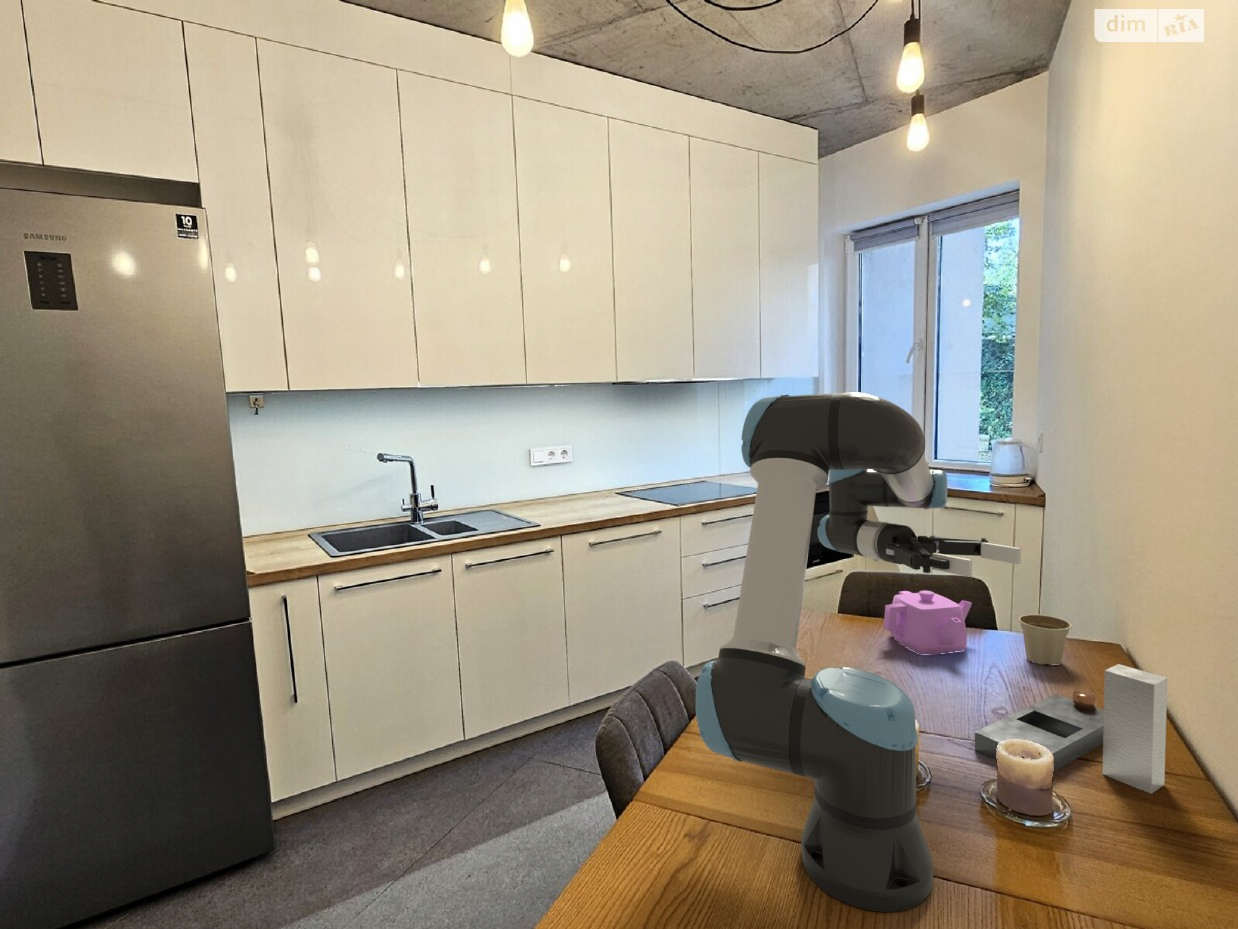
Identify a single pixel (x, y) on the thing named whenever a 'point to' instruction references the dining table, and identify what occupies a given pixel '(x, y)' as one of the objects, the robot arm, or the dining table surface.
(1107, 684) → the white rectangular block
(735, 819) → the dining table surface
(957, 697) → the dining table surface
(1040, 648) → the flower pot
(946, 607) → the teakettle
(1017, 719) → the post stand
